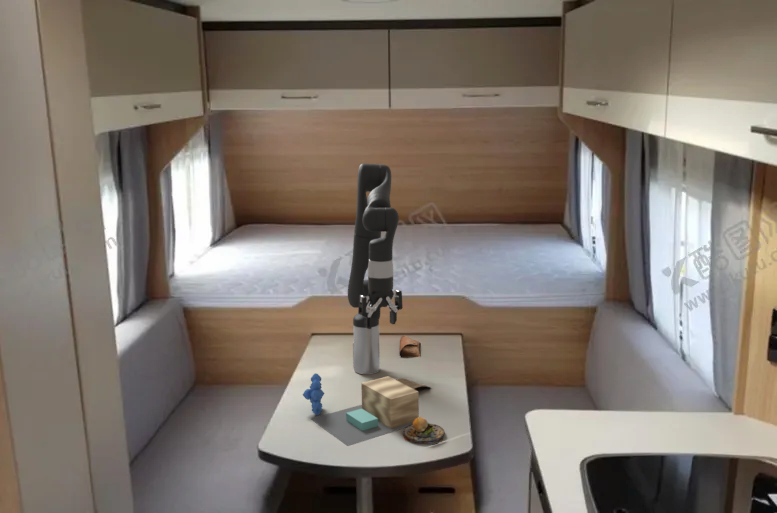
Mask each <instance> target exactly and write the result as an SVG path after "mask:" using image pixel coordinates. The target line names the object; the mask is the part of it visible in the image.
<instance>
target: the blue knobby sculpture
mask: <svg viewBox="0 0 777 513" xmlns="http://www.w3.org/2000/svg"><path fill="white" fill-rule="evenodd" d="M310 381H311V384H310V386H309V388H307V389H305V390H304V391H303V393H302V396H303V397H304V398H305V400H309V403H311V411H312V413H313V414H314V415H315V416H319V415H320V414H321V413H322V411H323V404H322V401H321V400H322V399H323V397H324V395H325V392H324V391H323V390H322V385H323V384H322V383H321V381H322V377H321V376H320V375H319V373H314V374H312V376H311V378H310Z"/></svg>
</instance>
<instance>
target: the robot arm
mask: <svg viewBox="0 0 777 513" xmlns="http://www.w3.org/2000/svg"><path fill="white" fill-rule="evenodd" d="M356 183H357V184H356V185H357V187H356V212H355V214H356V215H355V222H354V232H353V246H352V247H353V248H352V257H351V258H352V259H351V260H352V261H351V268H350V275H349V279H348V285H347V299H348V303H349V305H350V307H352V308H354V309H355V308H358V309H357V310H358V312H357V314H356V315H354V316H353V317H352V328H353V329H352V330H353V331H352V332H353V343H352V357H353V358H352V360H353V362H352V363H353V365H352V367H353V370H354V372H355V373H357V374H361V375H372V374H376V373H378V372H380V370H381V366H380V364H381V362H380V360H381V359H380V357H381V355H380V317H381V308H388V309H389V324H391V325H396V323H397V317H398V311H400V310H402V309H403V292H402V290H399V289H397V288H396V289H394V263H393V246H394V241H395V240H394V239H395V234H396V231H397V228H398V225H399V221H400V216H399V213H398V210H396V208H394V207H391V206H392V205H391V198H390V197H391V190H392V170H391V168H390V166H388V165H386V164H381V163H380V164H379V163H366V162H365V163H361V164H360V165H359V167H358V170H357V180H356ZM368 192H369V194H368V196H367V193H368ZM383 232H386V233H385V234H384V235H383V236H382V233H383ZM366 272H367V279H365V277H366ZM393 289H394V290H393ZM393 298H394V302H393V301H392V299H393Z"/></svg>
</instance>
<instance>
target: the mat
mask: <svg viewBox="0 0 777 513" xmlns="http://www.w3.org/2000/svg"><path fill="white" fill-rule="evenodd" d="M358 409H362V404H359V405H356V406H352V407H348V408H345V409H341V410H338V411H333V412H331V413H325V414H323V415H320V416H319V415H318V416H315V417H312V418H310V421H312V422H314V424H316V425H318V426H319V427H321V428H322V429H324V431H326V432H328V433H329V434H330V435H331V436H333V437H334V438H336V439H337V440H338V441H340V442H341V443H343V444H344V445H345V446H347V447H349V446H352V445H355V444H360V443H361V442H362V443H363V442H365V441H368V440H371V439H374V438H377V437H380V436H384V435H387V434H391V433H394V432H397V431H400V430H404V429H405V428H406V427H407V426H409V425H412V424H413V422H411V423H408V424H404V425H401V426H398V427H395V428H389V427H388V426H386V425H385V424H383V423H381V422H380V421H378V426H377V427H374V428H370V429H367V430H364V431H362V430H360V429H359V428H357V427H356V426H354V425H353V424H351V423H350V422H348V421H347V420H346V413H347V412H351V411H355V410H358Z"/></svg>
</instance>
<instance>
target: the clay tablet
mask: <svg viewBox="0 0 777 513" xmlns="http://www.w3.org/2000/svg"><path fill="white" fill-rule="evenodd" d="M394 379H395V378H394ZM395 380H397V381H399V382H401V383H403V384H405V385H407V386H408V387H410V388H412V389H414V390H416V389H417V388H421V387H425V388H429V389H431V387H430V386H426V385H423V384H421V383H418V382H415V381H412V380H409V379H407V378H396V379H395Z"/></svg>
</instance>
